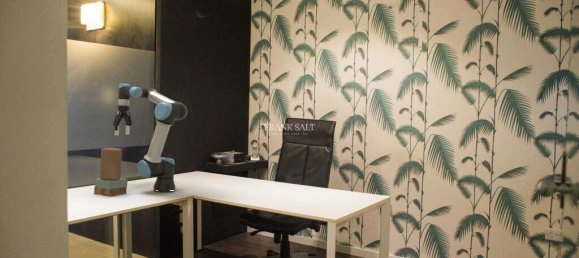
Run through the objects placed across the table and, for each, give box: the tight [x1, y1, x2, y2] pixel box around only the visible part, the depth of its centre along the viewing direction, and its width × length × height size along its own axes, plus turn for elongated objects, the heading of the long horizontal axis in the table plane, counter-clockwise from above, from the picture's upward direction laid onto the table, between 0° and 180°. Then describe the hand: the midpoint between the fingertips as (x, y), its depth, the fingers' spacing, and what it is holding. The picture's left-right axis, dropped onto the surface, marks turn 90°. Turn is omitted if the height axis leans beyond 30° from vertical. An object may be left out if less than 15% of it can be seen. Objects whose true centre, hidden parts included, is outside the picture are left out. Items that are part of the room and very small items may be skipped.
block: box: [99, 147, 122, 180], centre depth 280 cm, size 10×10×20 cm
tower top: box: [94, 177, 128, 189], centre depth 281 cm, size 14×14×5 cm
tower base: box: [93, 186, 128, 197], centre depth 281 cm, size 14×14×5 cm
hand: (122, 134), depth 309 cm, fingers open, 13 cm apart
